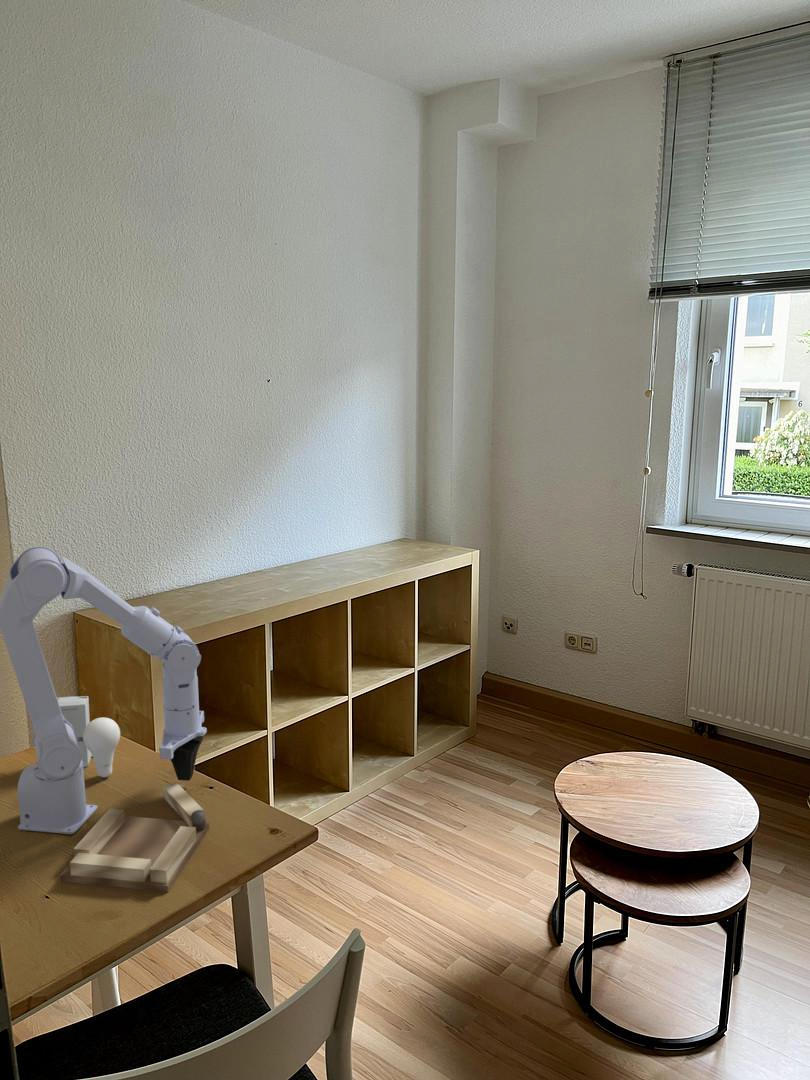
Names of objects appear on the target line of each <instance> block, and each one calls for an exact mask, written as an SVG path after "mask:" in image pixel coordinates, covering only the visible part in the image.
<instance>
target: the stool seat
mask: <svg viewBox="0 0 810 1080" xmlns="http://www.w3.org/2000/svg"><path fill="white" fill-rule="evenodd" d="M209 830H210V823H209V822H206V827H205V828H203V829H201V830H196V827H190V826H189V825H188V824H187V823H186V822H185V820H176V819H164V818H152V817H141V816H133V815H131V816H129V815H125V810H124V809H118V808H116V809H115V808H108V809H107V810H106V812H105V813H104V814H103V815H102V816H101V817H100V819H98V820H97V822H96V823H95V824H94V825H93V826H92V827H91V829H90V830H89V831H88V832H87V833H86V835H84V836H83V838H82V839H81V840H80V841H79V842H78V843H77V844H76V846H74V847H73V858H72V859H71V860H70V861H69V864H68V865H67V867H66V868H65V869H64V870H63V871H62V872H61V873H60V875H59V880H60V882H61V883H62V882H63V883H73V884H83V885H89V886H91V885H92V886H102V887H112V888H113V887H114V888H121V889H133V890H144V891H152V892H163V893H169V891H170V890H171V888H172V886H173V885H174V883H175V882H176V881H177V879H178V877H179V876H180V875H181V873H182V872H183V870H184V868H185V867H186V865H187V864H188V862H189V860H190V859H191V858H192V856H193V854H194V853H195V852H196V850H197V849H198V847H199V845H200V843H201V842H202V841H203V840H204V837H206V835H207V833H208V831H209Z"/></svg>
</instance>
